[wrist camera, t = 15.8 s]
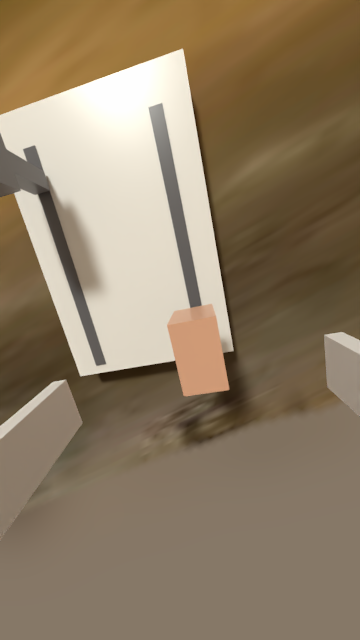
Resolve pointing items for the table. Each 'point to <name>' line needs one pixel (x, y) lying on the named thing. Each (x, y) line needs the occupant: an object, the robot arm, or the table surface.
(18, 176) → the fader
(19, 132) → the fader panel
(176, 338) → the fader
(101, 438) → the table surface
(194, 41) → the table surface
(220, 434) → the table surface
